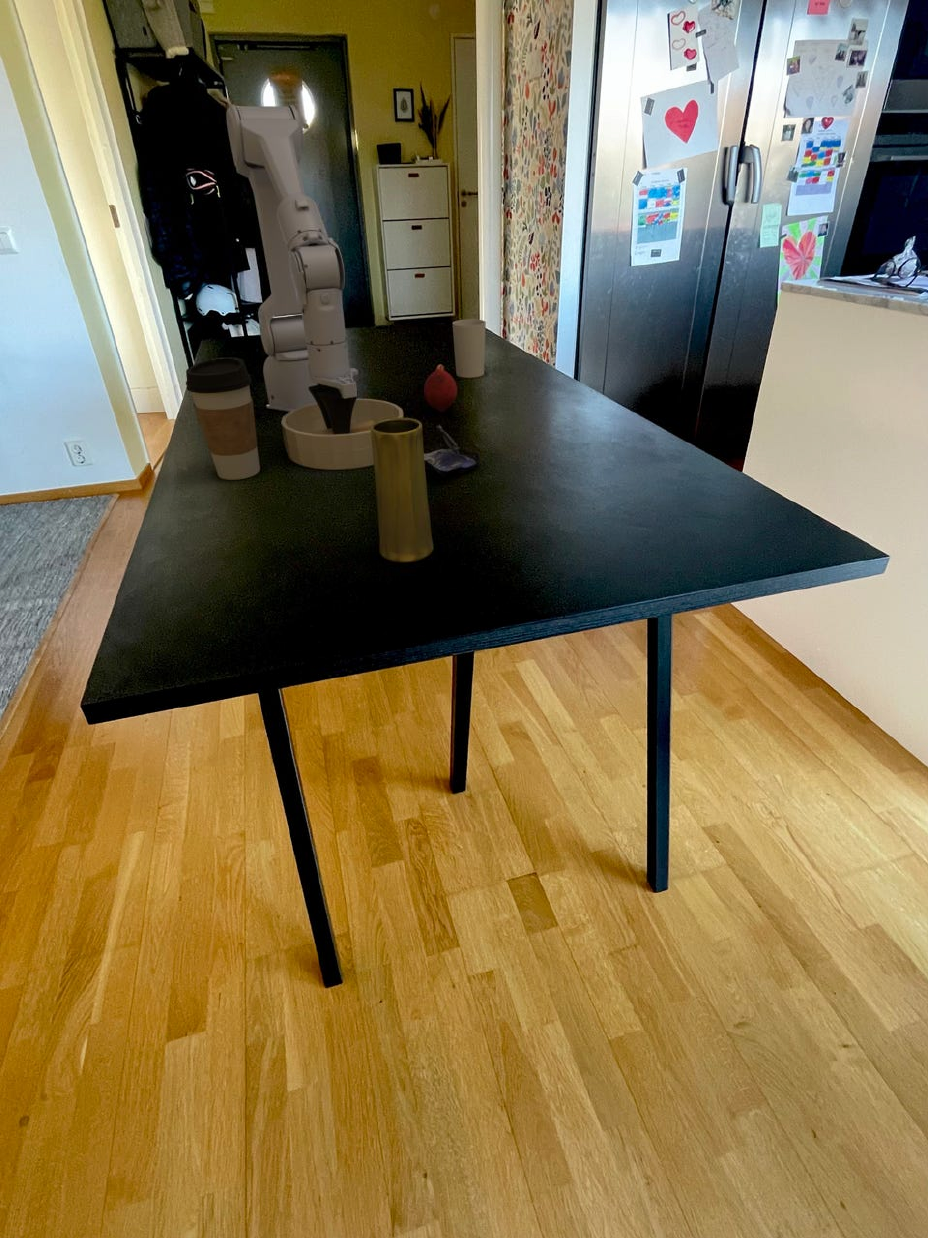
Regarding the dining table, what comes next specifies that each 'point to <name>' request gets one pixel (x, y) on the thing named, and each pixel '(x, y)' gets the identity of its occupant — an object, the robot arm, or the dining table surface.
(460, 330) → the white paper cup
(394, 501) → the vase
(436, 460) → the dark piece
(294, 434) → the bowl
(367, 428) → the tan wooden bar
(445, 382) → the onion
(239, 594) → the dining table surface
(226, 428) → the coffee cup
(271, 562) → the dining table surface
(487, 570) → the dining table surface
